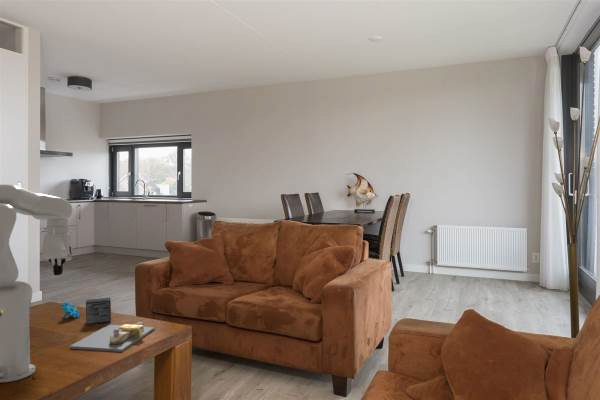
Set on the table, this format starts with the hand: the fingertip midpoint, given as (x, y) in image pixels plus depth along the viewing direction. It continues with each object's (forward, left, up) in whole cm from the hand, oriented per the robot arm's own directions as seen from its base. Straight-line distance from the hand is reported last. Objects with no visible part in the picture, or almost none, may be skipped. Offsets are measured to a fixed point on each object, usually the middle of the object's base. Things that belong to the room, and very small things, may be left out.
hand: (58, 274), depth 176 cm
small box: (+24, -2, -27) cm, 36 cm away
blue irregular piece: (+28, +15, -27) cm, 42 cm away
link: (+6, -27, -26) cm, 38 cm away
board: (+5, -22, -27) cm, 35 cm away
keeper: (+6, -29, -26) cm, 39 cm away
